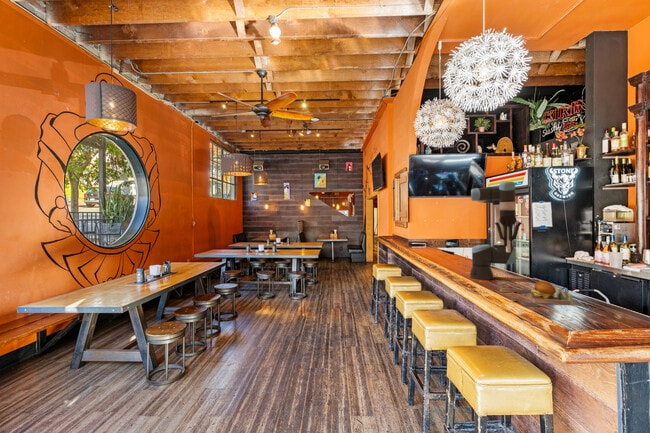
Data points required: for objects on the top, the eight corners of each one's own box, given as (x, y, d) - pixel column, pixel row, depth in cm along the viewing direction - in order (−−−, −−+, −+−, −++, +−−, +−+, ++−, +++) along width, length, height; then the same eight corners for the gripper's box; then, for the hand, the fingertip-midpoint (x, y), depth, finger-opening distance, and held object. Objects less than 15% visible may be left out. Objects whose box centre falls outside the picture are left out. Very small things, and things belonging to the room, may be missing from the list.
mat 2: (519, 302, 156) (519, 302, 156) (534, 303, 154) (534, 302, 154) (523, 305, 150) (523, 305, 150) (539, 306, 148) (539, 306, 148)
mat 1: (518, 289, 181) (518, 289, 181) (531, 290, 179) (531, 290, 179) (521, 292, 175) (521, 292, 175) (535, 292, 173) (535, 292, 173)
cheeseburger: (545, 294, 169) (548, 278, 167) (559, 304, 159) (562, 287, 156) (526, 294, 169) (529, 278, 167) (539, 304, 159) (542, 287, 157)
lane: (500, 291, 177) (500, 283, 177) (553, 293, 170) (553, 285, 170) (512, 301, 157) (512, 292, 157) (572, 304, 150) (572, 294, 150)
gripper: (496, 210, 167) (497, 252, 167) (523, 209, 163) (524, 253, 163) (492, 210, 174) (493, 251, 174) (518, 209, 170) (519, 251, 170)
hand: (508, 252), depth 169 cm, fingers closed
